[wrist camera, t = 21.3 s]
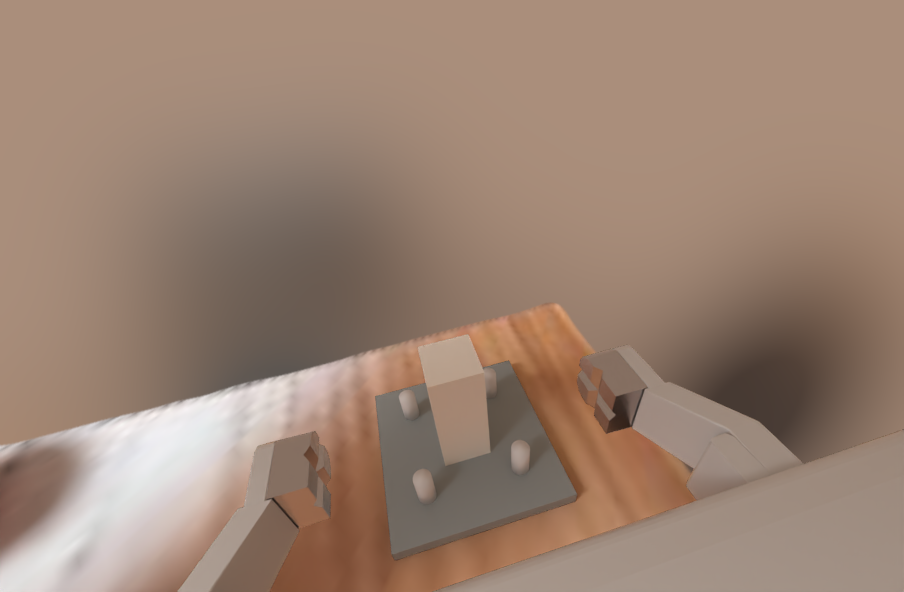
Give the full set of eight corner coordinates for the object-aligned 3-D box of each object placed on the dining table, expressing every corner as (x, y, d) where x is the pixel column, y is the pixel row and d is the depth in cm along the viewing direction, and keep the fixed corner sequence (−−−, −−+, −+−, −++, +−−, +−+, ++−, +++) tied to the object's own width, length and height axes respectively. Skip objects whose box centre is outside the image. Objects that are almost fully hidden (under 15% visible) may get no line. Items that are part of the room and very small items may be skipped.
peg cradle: (395, 560, 34) (383, 539, 31) (377, 403, 48) (368, 378, 45) (575, 501, 36) (580, 476, 33) (508, 368, 51) (508, 341, 47)
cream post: (445, 466, 39) (427, 387, 31) (435, 425, 43) (417, 347, 35) (490, 452, 40) (484, 372, 32) (476, 414, 44) (468, 334, 36)
